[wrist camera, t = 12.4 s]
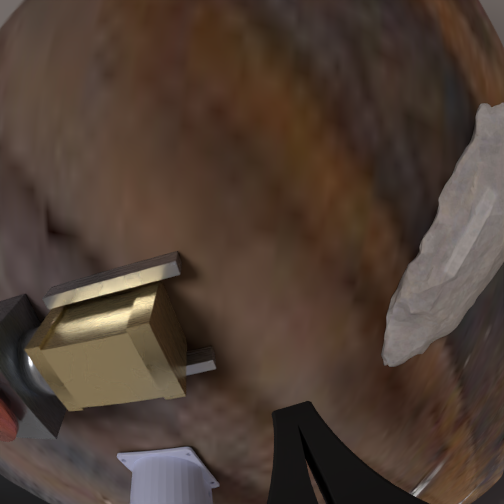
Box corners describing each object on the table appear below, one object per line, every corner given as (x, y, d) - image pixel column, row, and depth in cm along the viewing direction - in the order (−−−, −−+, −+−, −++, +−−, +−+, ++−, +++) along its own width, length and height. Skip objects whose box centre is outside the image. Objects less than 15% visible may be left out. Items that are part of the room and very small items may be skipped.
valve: (215, 355, 20) (224, 441, 14) (1, 387, 19) (-27, 443, 12) (177, 249, 17) (164, 321, 11) (-45, 316, 16) (-88, 365, 9)
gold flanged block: (187, 341, 20) (186, 396, 15) (87, 362, 19) (68, 411, 15) (160, 276, 18) (148, 323, 13) (54, 304, 17) (24, 349, 13)
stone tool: (568, 157, 15) (433, 398, 20) (530, 147, 19) (404, 363, 24) (523, 51, 11) (345, 368, 16) (477, 55, 15) (316, 321, 21)
